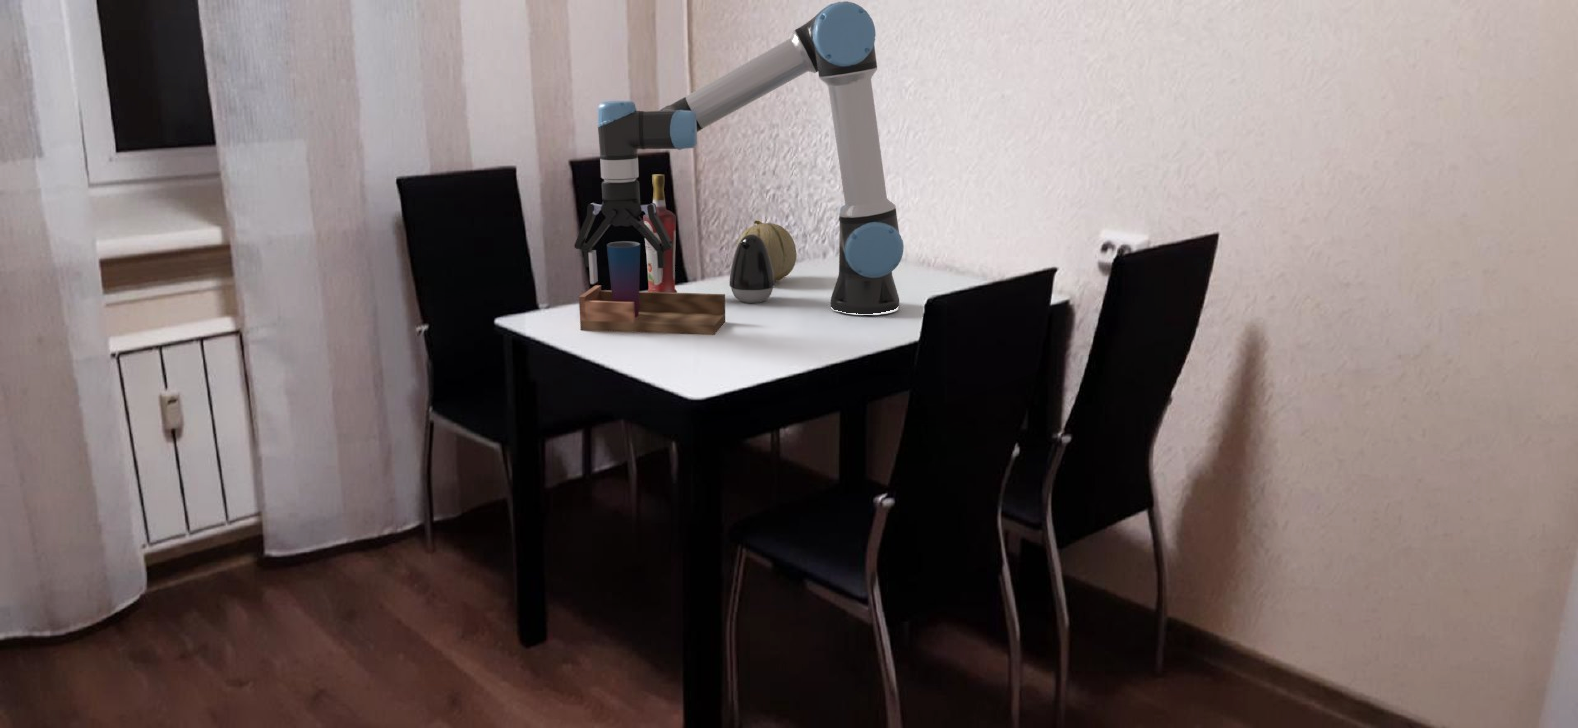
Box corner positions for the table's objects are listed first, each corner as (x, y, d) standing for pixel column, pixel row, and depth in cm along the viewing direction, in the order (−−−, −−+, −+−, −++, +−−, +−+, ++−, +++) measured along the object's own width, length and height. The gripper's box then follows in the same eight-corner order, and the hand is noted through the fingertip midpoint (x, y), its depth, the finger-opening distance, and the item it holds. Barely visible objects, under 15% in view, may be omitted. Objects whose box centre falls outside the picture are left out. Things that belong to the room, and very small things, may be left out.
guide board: (725, 322, 243) (724, 289, 241) (714, 335, 233) (713, 301, 231) (596, 317, 247) (595, 285, 245) (580, 330, 237) (578, 296, 235)
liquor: (639, 297, 266) (635, 174, 258) (666, 292, 270) (663, 172, 262) (657, 302, 260) (652, 178, 253) (684, 298, 265) (681, 175, 257)
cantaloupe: (787, 290, 272) (787, 227, 268) (728, 287, 276) (727, 224, 272) (803, 278, 286) (804, 218, 282) (747, 274, 290) (746, 215, 286)
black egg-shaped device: (721, 303, 260) (720, 236, 255) (741, 294, 269) (740, 229, 265) (763, 307, 256) (763, 239, 252) (781, 297, 265) (781, 232, 261)
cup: (636, 320, 236) (633, 247, 232) (605, 318, 238) (601, 246, 233) (647, 312, 243) (644, 242, 238) (616, 311, 244) (613, 240, 240)
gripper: (685, 177, 234) (689, 280, 240) (566, 177, 238) (573, 278, 244) (676, 182, 227) (680, 288, 233) (554, 181, 231) (561, 285, 236)
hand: (625, 283), depth 238 cm, fingers open, 13 cm apart
